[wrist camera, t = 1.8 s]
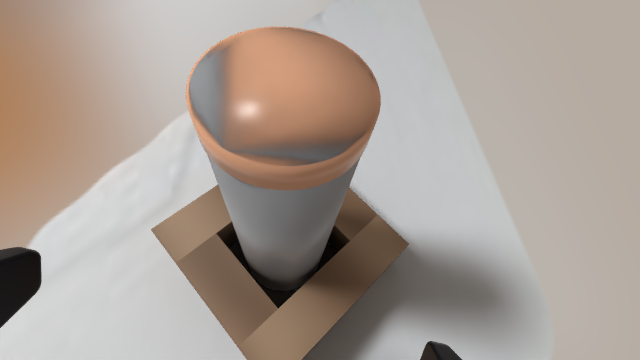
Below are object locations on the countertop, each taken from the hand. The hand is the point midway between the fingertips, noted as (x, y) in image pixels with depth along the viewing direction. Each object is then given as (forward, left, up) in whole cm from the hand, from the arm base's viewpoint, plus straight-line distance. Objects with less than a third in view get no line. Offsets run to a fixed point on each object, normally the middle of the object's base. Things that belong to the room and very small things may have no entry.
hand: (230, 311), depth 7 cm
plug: (+4, +3, -12) cm, 13 cm away
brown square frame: (+4, +3, -12) cm, 13 cm away
